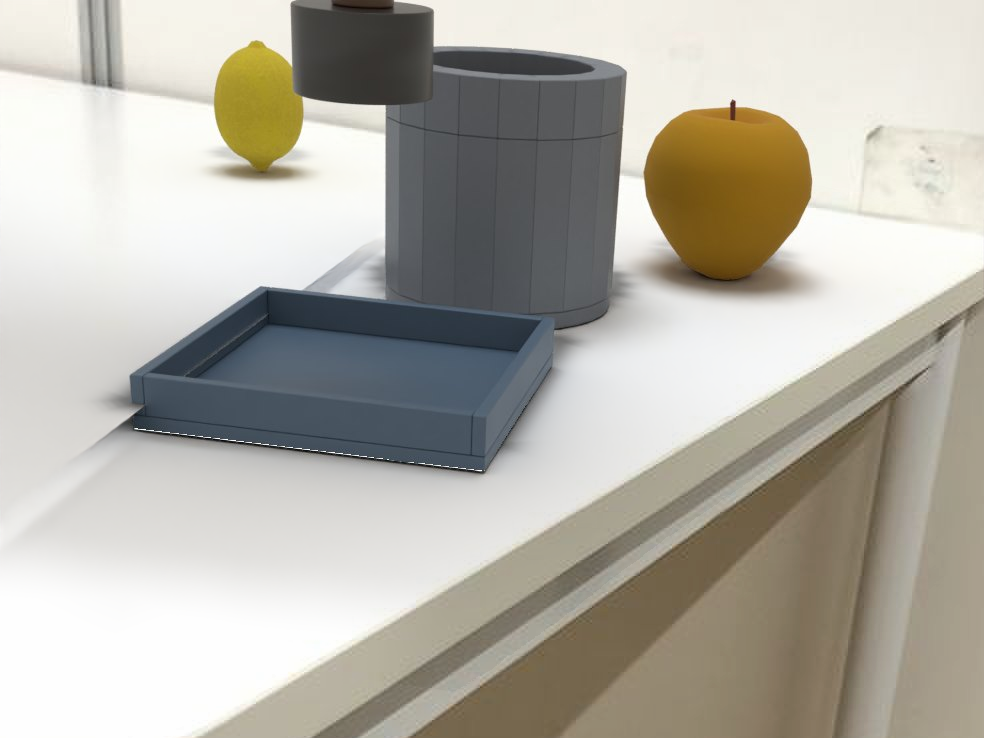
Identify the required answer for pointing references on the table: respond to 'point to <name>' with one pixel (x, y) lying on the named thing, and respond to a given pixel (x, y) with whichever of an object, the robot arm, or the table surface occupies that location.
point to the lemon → (258, 105)
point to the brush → (362, 51)
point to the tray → (350, 377)
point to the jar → (506, 184)
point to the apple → (727, 187)
